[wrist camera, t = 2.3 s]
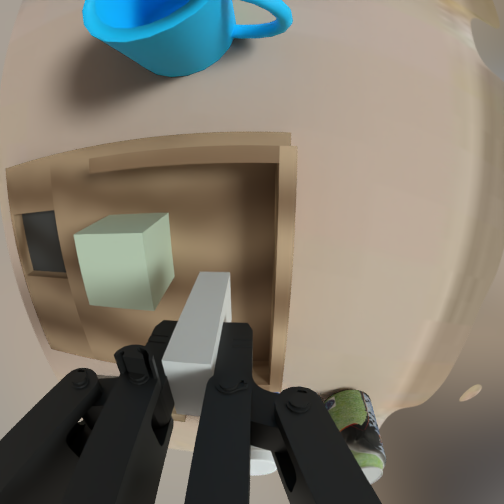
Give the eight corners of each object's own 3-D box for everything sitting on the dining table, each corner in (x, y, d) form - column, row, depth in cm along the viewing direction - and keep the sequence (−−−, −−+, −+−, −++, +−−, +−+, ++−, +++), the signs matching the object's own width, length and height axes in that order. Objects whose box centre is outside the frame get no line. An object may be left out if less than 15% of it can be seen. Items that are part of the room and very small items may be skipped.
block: (109, 214, 19) (73, 234, 14) (168, 212, 19) (142, 233, 14) (118, 274, 21) (89, 304, 16) (174, 276, 21) (154, 311, 16)
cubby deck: (15, 166, 19) (-15, 173, 14) (288, 134, 18) (297, 129, 14) (57, 341, 26) (39, 363, 22) (277, 365, 26) (280, 398, 22)
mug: (124, 77, 17) (65, 52, 9) (149, -3, 14) (110, -49, 6) (276, 89, 17) (289, 52, 10) (294, 5, 14) (311, -54, 7)
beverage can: (343, 418, 30) (361, 494, 18) (300, 405, 28) (312, 494, 17) (378, 390, 28) (408, 469, 16) (337, 374, 26) (364, 469, 15)
